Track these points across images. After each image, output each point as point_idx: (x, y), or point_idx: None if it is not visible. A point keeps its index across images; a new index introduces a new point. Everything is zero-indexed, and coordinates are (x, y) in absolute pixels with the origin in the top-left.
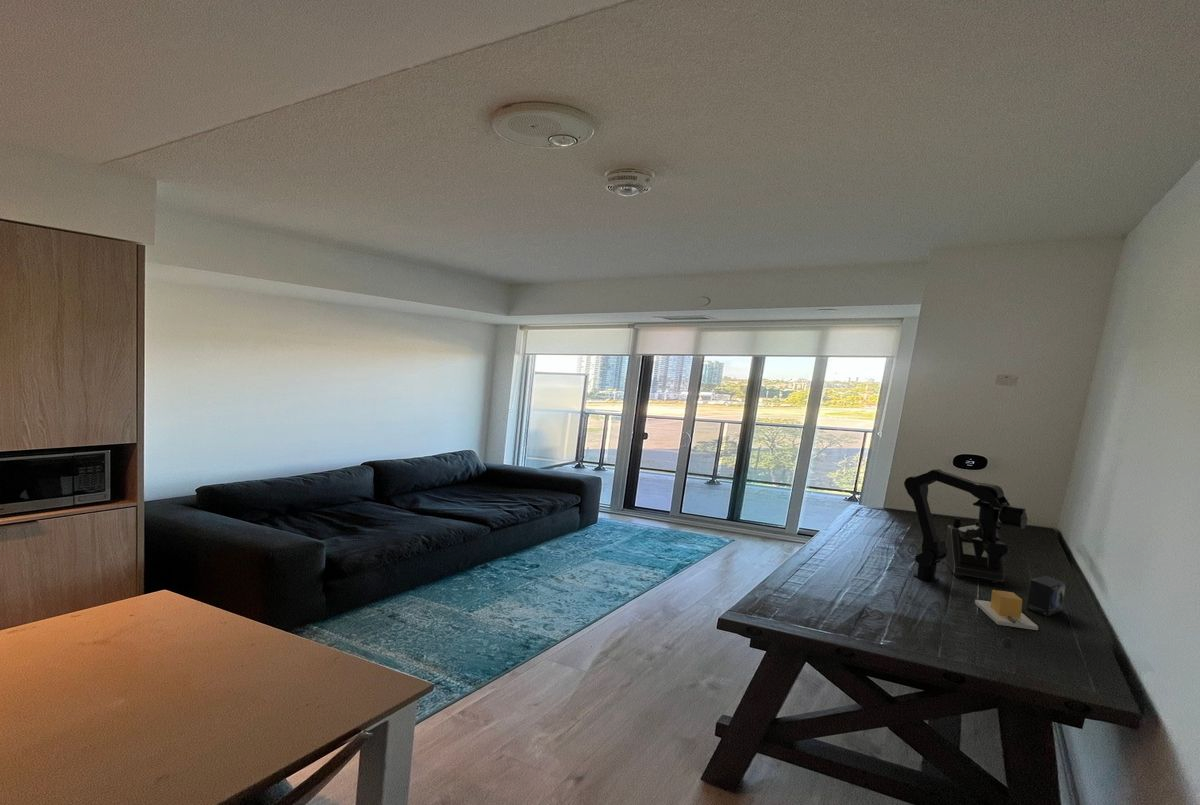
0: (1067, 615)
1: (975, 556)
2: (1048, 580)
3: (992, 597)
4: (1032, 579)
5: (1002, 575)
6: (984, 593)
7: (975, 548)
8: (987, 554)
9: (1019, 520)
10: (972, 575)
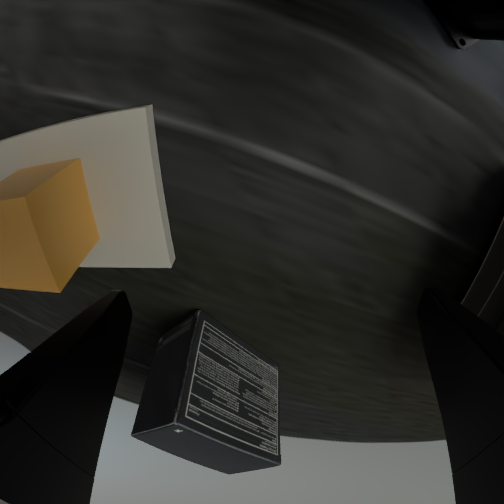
0: None
1: (452, 298)
2: (207, 457)
3: (40, 179)
4: (177, 428)
5: None
6: (332, 211)
7: (498, 375)
8: (4, 406)
9: None
10: (496, 242)
